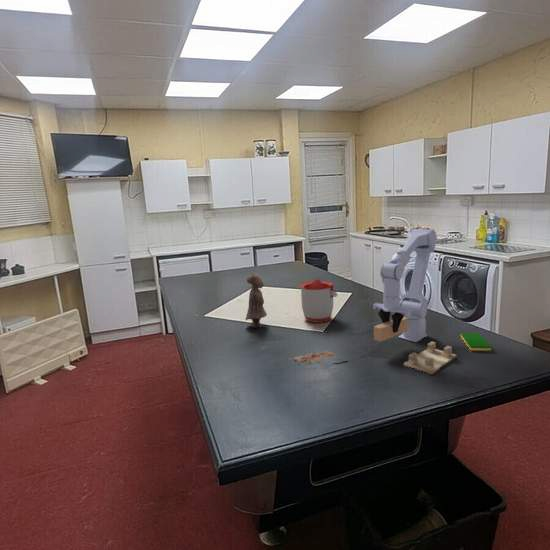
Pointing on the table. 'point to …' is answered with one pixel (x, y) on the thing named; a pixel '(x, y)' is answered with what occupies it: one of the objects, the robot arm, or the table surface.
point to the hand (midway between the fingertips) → (391, 330)
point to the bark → (313, 356)
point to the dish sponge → (475, 341)
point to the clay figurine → (255, 301)
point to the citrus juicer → (317, 300)
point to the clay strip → (389, 329)
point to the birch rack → (430, 358)
